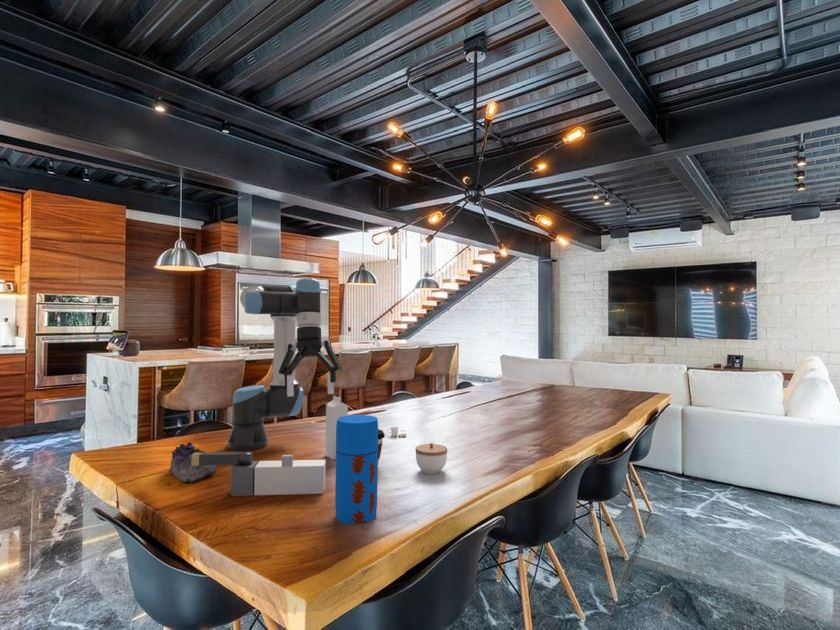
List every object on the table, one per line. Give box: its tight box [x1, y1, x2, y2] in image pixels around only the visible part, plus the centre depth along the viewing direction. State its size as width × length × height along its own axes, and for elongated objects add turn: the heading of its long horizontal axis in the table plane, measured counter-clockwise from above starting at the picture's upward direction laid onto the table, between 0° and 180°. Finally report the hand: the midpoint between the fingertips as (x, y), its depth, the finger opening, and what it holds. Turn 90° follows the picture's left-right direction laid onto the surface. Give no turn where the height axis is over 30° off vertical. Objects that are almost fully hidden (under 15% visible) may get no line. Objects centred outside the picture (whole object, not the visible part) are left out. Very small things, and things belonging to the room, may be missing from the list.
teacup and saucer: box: [388, 426, 407, 438], centre depth 203 cm, size 9×8×4 cm
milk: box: [325, 395, 349, 460], centre depth 172 cm, size 6×6×22 cm
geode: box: [169, 441, 217, 484], centre depth 151 cm, size 20×12×10 cm, turn 49°
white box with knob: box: [230, 454, 327, 497], centre depth 137 cm, size 6×26×11 cm, turn 96°
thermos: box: [334, 414, 379, 525], centre depth 120 cm, size 11×11×25 cm
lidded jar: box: [415, 442, 448, 475], centre depth 157 cm, size 11×11×9 cm
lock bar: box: [192, 450, 253, 466], centre depth 135 cm, size 4×16×3 cm, turn 96°
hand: (310, 395), depth 144 cm, fingers open, 13 cm apart
